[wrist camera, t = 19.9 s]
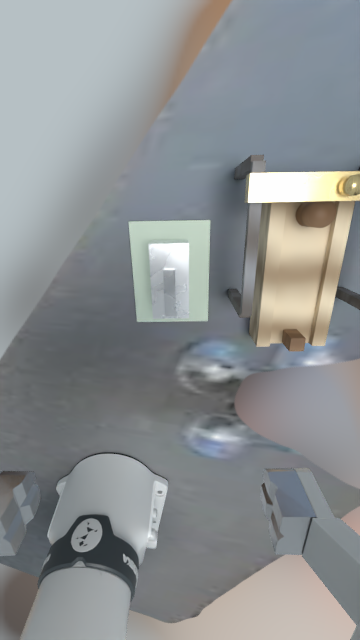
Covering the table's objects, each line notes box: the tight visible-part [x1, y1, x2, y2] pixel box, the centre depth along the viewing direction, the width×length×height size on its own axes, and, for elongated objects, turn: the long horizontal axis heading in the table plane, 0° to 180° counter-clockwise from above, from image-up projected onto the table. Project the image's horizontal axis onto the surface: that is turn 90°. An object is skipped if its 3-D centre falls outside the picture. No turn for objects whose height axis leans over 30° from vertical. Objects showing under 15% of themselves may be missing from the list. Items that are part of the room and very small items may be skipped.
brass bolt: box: [245, 171, 360, 203], centre depth 20 cm, size 2×15×2 cm, turn 91°
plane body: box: [228, 155, 360, 351], centre depth 28 cm, size 19×14×8 cm
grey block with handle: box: [148, 239, 189, 319], centre depth 29 cm, size 8×4×5 cm, turn 1°
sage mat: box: [129, 220, 210, 322], centre depth 32 cm, size 12×9×1 cm
